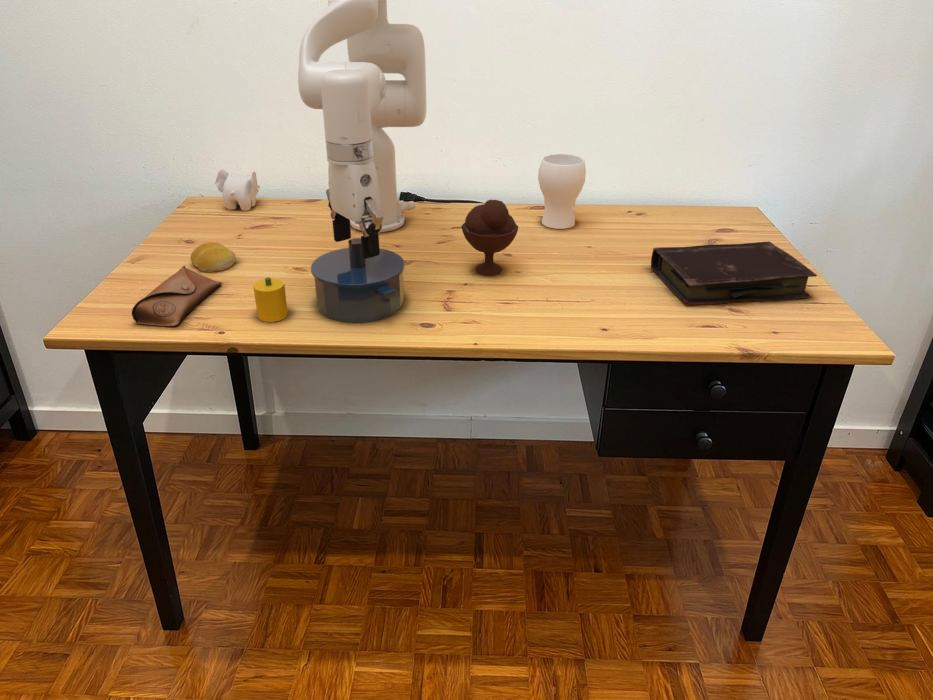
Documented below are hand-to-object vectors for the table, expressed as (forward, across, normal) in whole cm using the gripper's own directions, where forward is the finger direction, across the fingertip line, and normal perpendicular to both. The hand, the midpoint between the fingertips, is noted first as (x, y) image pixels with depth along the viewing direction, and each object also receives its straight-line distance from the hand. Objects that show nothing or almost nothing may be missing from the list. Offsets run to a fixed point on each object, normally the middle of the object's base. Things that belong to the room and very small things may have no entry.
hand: (356, 248), depth 128 cm
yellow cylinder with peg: (+11, +5, +15) cm, 19 cm away
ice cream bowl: (+11, -3, -28) cm, 30 cm away
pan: (+11, 0, 0) cm, 11 cm away
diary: (+11, -35, -62) cm, 72 cm away
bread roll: (+11, +33, +15) cm, 38 cm away
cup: (+10, +8, -58) cm, 60 cm away
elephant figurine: (+10, +63, -4) cm, 64 cm away
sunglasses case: (+11, +20, +26) cm, 35 cm away
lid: (+4, 0, 0) cm, 4 cm away
